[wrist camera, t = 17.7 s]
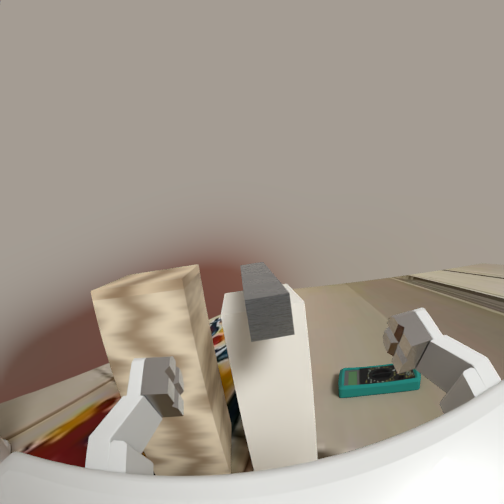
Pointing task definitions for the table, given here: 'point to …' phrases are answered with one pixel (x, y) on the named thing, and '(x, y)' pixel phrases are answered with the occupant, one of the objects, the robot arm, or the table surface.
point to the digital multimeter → (376, 381)
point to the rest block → (272, 386)
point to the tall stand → (187, 359)
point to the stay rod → (266, 303)
